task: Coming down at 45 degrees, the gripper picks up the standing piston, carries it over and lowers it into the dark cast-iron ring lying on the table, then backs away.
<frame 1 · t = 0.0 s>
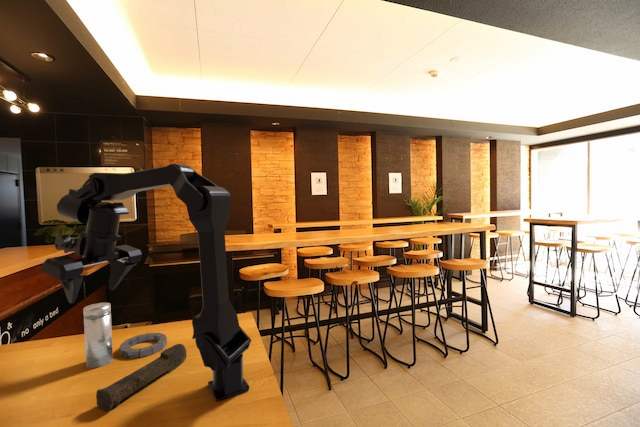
hand: (92, 295, 70), 15 cm above the table, tool pointing down, fingers open, 9 cm apart
piston: (99, 362, 71), on the table
ring: (144, 347, 77), on the table
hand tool: (147, 382, 63), on the table
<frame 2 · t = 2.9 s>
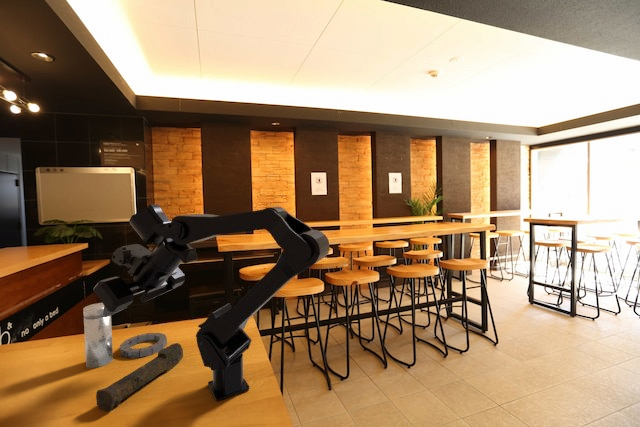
hand: (124, 307, 68), 13 cm above the table, tool tilted 45°, fingers open, 9 cm apart
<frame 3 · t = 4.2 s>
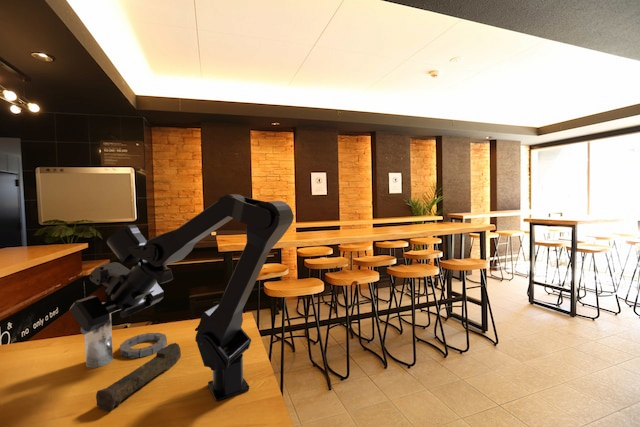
hand: (103, 324, 70), 9 cm above the table, tool tilted 45°, fingers open, 9 cm apart
nothing on the table moved.
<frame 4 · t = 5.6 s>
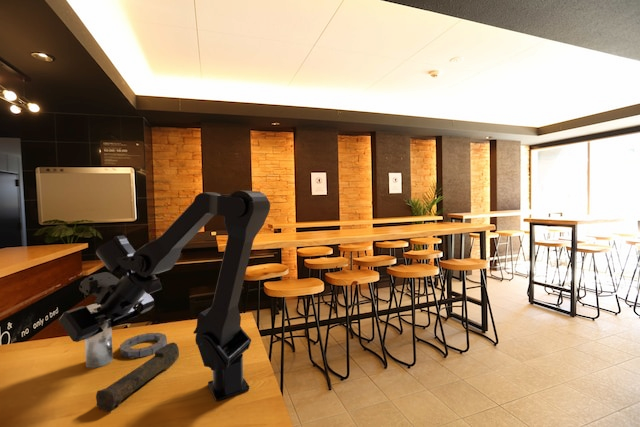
hand: (93, 333, 71), 7 cm above the table, tool tilted 45°, fingers closed on piston, 5 cm apart
piston: (99, 362, 71), on the table, touching gripper
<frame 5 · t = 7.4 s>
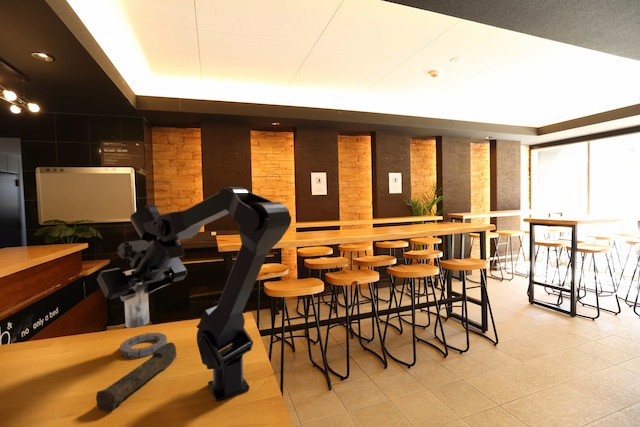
hand: (133, 296, 76), 13 cm above the table, tool tilted 45°, fingers closed on piston, 5 cm apart
piston: (137, 323, 76), point 7 cm above the table, touching gripper
when the fingers open (8 cm above the table, at t = 9.2 s): piston drops 1 cm, resting in ring.
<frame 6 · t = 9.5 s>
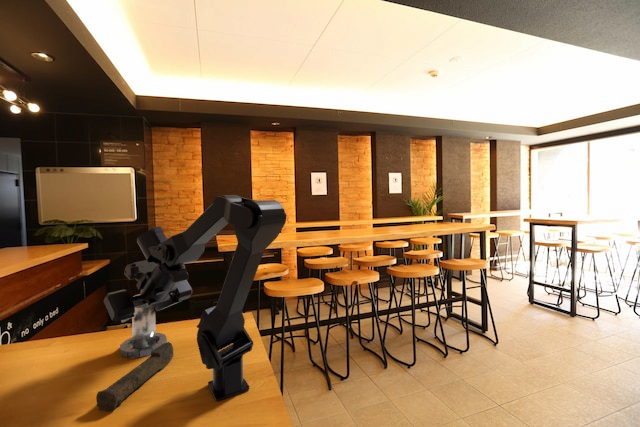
hand: (139, 314, 77), 8 cm above the table, tool tilted 45°, fingers open, 8 cm apart
piston: (144, 347, 77), resting in ring
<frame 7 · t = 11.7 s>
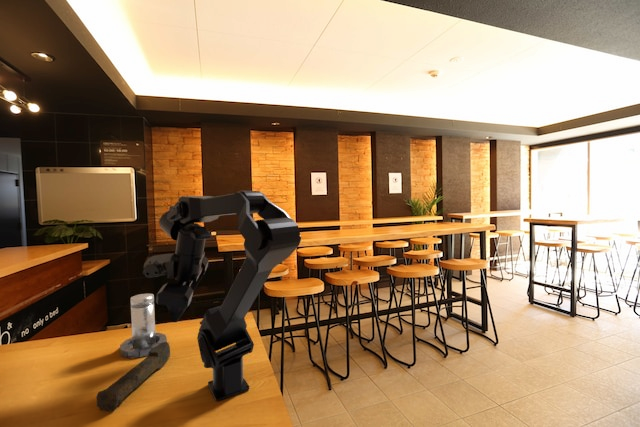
hand: (180, 309, 73), 11 cm above the table, tool tilted 20°, fingers open, 9 cm apart
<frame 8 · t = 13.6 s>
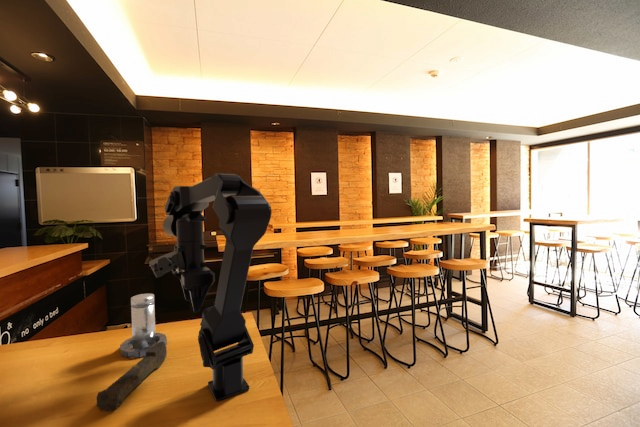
hand: (192, 305, 73), 12 cm above the table, tool pointing down, fingers open, 9 cm apart
at the end: piston 0.1 cm off-centre on the ring, point 0.0 cm above the ring's base; piston tilted 0°; the gripper is holding nothing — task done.
